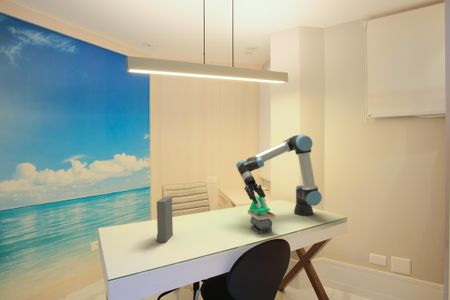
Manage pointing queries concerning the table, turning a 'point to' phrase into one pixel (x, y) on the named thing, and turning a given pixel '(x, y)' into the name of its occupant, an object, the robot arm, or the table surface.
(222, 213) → the table surface
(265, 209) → the green piece
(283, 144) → the robot arm
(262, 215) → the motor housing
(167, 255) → the table surface
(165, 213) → the grey upright slab
